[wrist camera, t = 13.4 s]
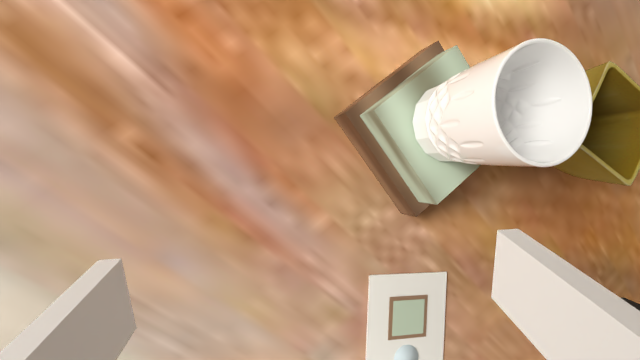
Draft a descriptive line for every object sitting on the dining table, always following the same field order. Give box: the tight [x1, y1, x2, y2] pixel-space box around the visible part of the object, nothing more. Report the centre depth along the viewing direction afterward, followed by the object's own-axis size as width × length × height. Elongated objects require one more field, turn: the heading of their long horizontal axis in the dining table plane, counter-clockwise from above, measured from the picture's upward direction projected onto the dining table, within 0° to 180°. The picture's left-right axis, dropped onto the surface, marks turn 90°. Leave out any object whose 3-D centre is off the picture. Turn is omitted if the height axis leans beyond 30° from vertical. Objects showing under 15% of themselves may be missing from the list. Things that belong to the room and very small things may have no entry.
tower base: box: [334, 41, 480, 217], centre depth 35 cm, size 12×12×6 cm
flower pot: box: [553, 61, 640, 186], centre depth 39 cm, size 9×9×9 cm
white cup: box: [412, 38, 592, 167], centre depth 27 cm, size 8×8×10 cm
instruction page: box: [365, 272, 447, 360], centre depth 38 cm, size 12×9×1 cm
